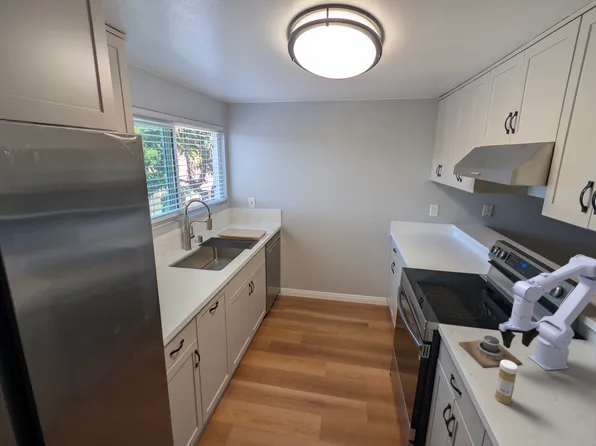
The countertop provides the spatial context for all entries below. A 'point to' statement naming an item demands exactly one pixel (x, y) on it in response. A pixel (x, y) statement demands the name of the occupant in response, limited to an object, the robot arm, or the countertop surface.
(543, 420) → the countertop surface
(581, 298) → the robot arm
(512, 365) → the sprinkles bottle
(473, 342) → the mount board
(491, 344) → the lens
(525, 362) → the countertop surface
